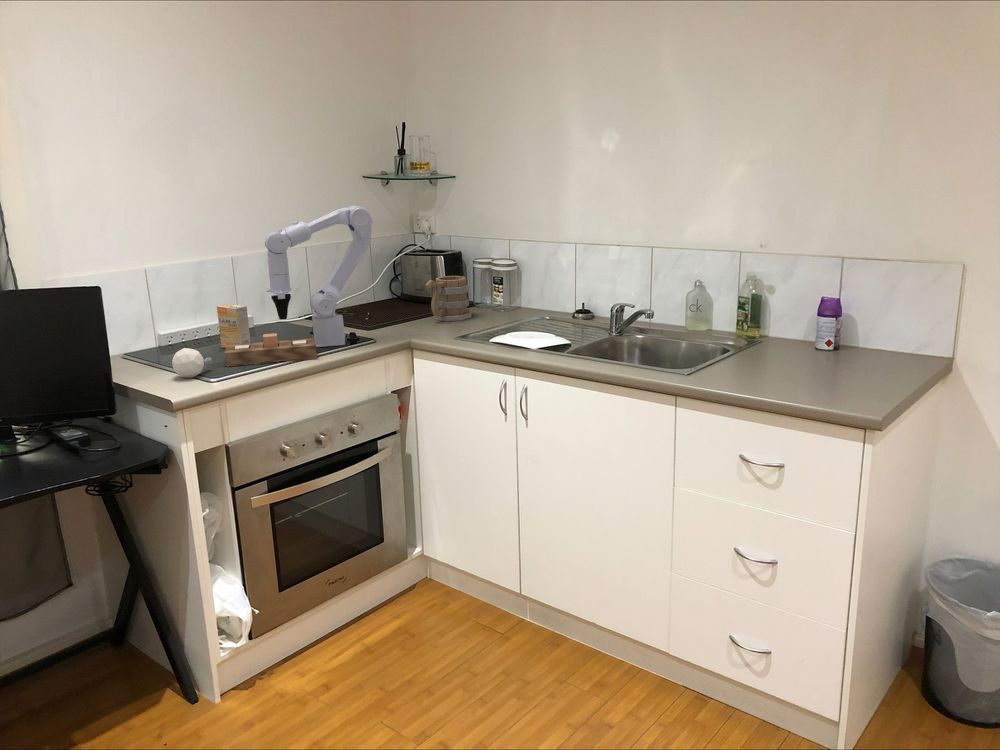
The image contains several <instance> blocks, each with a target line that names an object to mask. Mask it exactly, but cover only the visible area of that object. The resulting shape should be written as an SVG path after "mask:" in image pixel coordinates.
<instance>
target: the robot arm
mask: <svg viewBox="0 0 1000 750" xmlns="http://www.w3.org/2000/svg"><path fill="white" fill-rule="evenodd" d="M373 223H374V222H373V218H372V216H371V214H370V211H369V210H368V209H367V208H366V207H364V206H359V205H353V204H351V205H348V206H347V207H342V208H338V209H336V210H333V211H332V212H329V213H326V214H324V215H323V216H320V217H319V218H316V219H314V220H312V221H310V222H304V221H297V220H296V221H293V223H292V224H291V225H288V227H287V226H286V227H285V228H281V227H280V228H278V231H275V232H271V233H269V234H268V235H267V236H266V237H265V239H264V240H265V242H264V246H265V248H266V249H267V264H268V265H267V266H268V277H269V288H266V292H267V293H272V294H273V295H271V300H272V302H273V303H274V306H275V308H276V312H277V316H278V319H279V320H280V321H281V320H288V319H287V318H288V314H289V313H288V311H289V304H290V301H291V298H292V296H291V293H290V292H291V291H292V288H291V284H290V283H291V282H290V269H289V258H288V254H287V250H288V248H293V247H295V246H297V245H300V244H302V243H304V242H307V241H309V240H311V238H312V235H313V234H315V233H317V232H319V231H322V230H324V229H327V228H330V227H332V226H336V225H345V226H348V227H349V229H350V234H351V237H352V241H351V242H350V244H349V245H348V247H347V248H346V250H345V252H344V253H343V254H342V257H341V258H340V260H339V262H338V263H337V265H336V266H335V268H334V269H333V271H332V272H331V274H330V275H329V278H328V279H327V281H326V282H325V283H323V285H321V287H319V290H318V291H316V292H315V293H313V294H312V296H310V299H309V305H310V307H311V309H312V310H313V313H312V314H311V321H312V322H311V323H312V329H313V330H312V333H313V338H315V342H316V348H324V347H336V346H345V345H346V332H345V325H344V318H343V317H344V316H343V315H342V314H337V313H336V309H337V303H338V301H339V300H340V296H341V291H342V290H343V288H344V286H345V285H346V283H347V282H348V280H349V279H350V277H351V275H352V274H353V272H354V271H355V268H356V267H357V266H358V264H359V263H360V261H361V259H363V256H364V254H365V253H366V251H367V250H368V248H369V247H370V245H371V242H372V225H373ZM274 294H275V295H274Z"/></svg>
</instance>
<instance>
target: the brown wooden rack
mask: <svg viewBox="0 0 1000 750" xmlns="http://www.w3.org/2000/svg"><path fill="white" fill-rule="evenodd" d="M299 340H306V344H301V345H293V341H299ZM239 345H249V348H250V349H242V350H235V346H239ZM224 349H225V350H224V360H225V361H224V362H225V367H226V368H229V366H231V367H239V366H238V365H243V366H249V365H248V364H254V365H260V364H259V363H265V364H269V363H268V362H277V363H280V362H279V361H286V362H287V361H288V362H297V361H308V360H309V361H310V360H318V353H317V352H318V350H317V347H316V342H315V338H314V337H311V338H299V339H297V338H296V339H287V340H286V339H285V340H284V339H283V340H278V347H266V348H264V342H263V341H260V342H252V343H248V344H236V345H227V346H226V348H224ZM286 362H285V363H286ZM288 362H287V363H288Z"/></svg>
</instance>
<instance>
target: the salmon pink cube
mask: <svg viewBox="0 0 1000 750" xmlns="http://www.w3.org/2000/svg"><path fill="white" fill-rule="evenodd" d="M278 341H279V340H278V333H277V332H276V333H264V334H263V335H262V342H264V348H266V347H278Z"/></svg>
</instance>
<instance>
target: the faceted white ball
mask: <svg viewBox="0 0 1000 750" xmlns="http://www.w3.org/2000/svg"><path fill="white" fill-rule="evenodd" d="M171 363H172V368H173V370H174V372H175V373H176V375H178V376H180V377H182V378H188V379H189V378H191V379H192V378H194V377H196V376H197V375H200V374H201V372H202V371H203V369H204V367H205V366H208V365H211V364H213V359H212V357H206V358H205V359H204V358H203V355H202V354H201V353H200V351H199V350H196V349H195V348H194V349H193V348H185V347H183V348H181V349H180V350H177V352H175V353H174V355H173V358H172V360H171Z"/></svg>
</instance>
